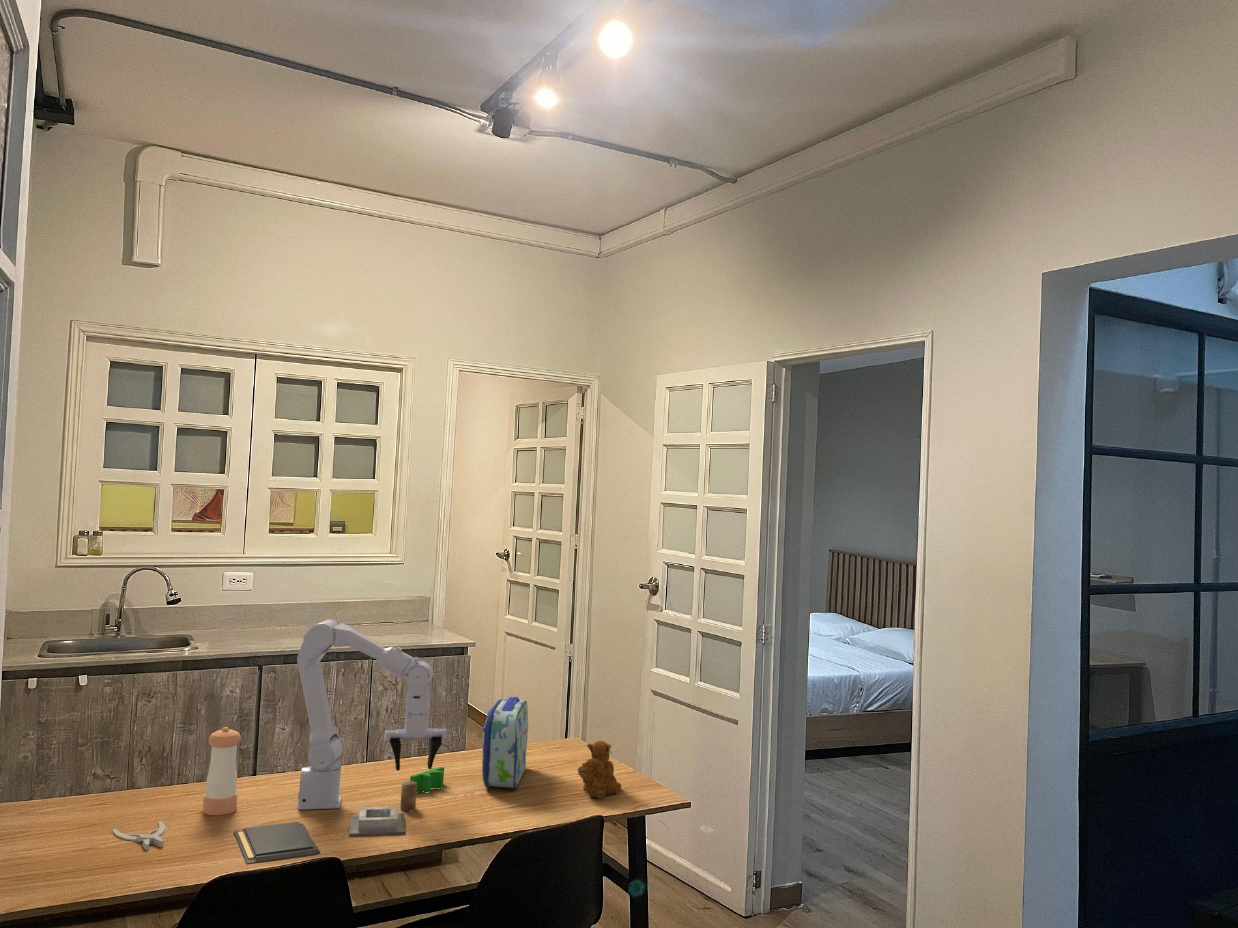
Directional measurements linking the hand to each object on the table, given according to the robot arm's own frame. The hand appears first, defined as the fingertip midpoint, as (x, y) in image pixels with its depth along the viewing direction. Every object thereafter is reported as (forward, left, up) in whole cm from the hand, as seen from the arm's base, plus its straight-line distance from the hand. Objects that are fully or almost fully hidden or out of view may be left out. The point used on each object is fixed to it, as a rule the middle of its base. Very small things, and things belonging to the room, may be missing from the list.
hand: (413, 768), depth 219 cm
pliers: (-56, -14, -10) cm, 58 cm away
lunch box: (+25, +21, -10) cm, 34 cm away
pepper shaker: (-44, +2, -10) cm, 45 cm away
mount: (-8, -12, -9) cm, 17 cm away
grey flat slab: (-29, -20, -10) cm, 36 cm away
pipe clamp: (+5, +14, -10) cm, 17 cm away
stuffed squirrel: (+48, +6, -10) cm, 50 cm away
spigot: (-1, -1, -9) cm, 9 cm away
